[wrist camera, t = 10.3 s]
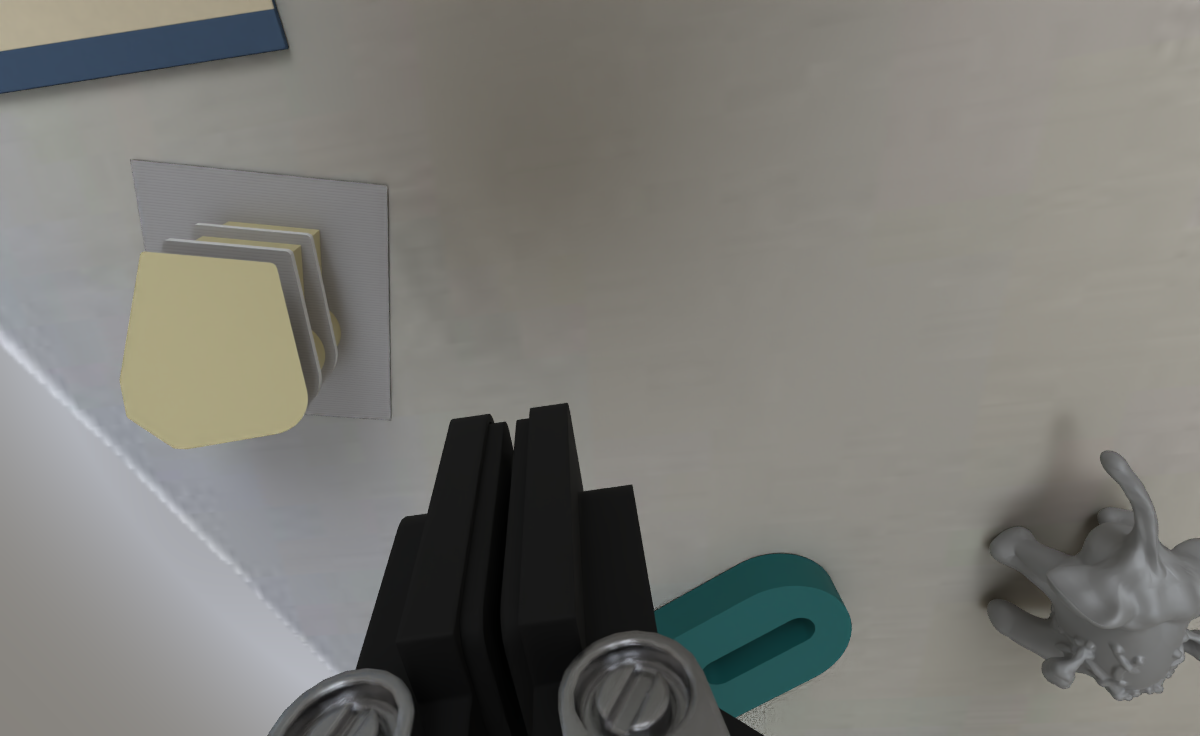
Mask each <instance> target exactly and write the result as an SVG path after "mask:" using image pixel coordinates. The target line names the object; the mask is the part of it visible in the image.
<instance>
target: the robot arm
mask: <svg viewBox="0 0 1200 736" xmlns="http://www.w3.org/2000/svg"><path fill="white" fill-rule="evenodd" d="M267 736H764V735H762V734H760V733H759V732H757V731H756V730H754V729H752V728H751V727H749V726H748V725H746V724H744V723H743V722H741V721H740V720H738V719H736V718H735V717H733V716H731V715H730V714H728V713H727V712H725V711H723V710H722V709H720V708H719V707H718V705H717V703H716V700H715V698H714V695H713V693H712V691H711V688H710V686H709V684H708V681H707V679H706V676H705V674H704V672H703V670H702V668H701V667H700V665H699V663H698V662H697V660H696V659H695V657H694V656H693V654H692V653H691V652H690V651H688V650H687V649H686V648H685V647H683V646H682V645H681V644H680V643H678V642H677V641H676V640H673V639H671V638H668V637H666V636H663V635H661V634H658V632H657V626H656V620H655V614H654V608H653V602H652V597H651V591H650V585H649V579H648V573H647V567H646V562H645V556H644V550H643V544H642V538H641V532H640V526H639V521H638V515H637V509H636V503H635V497H634V492H633V486H632V485H626V486H618V487H611V488H604V489H597V490H590V491H583V485H582V479H581V473H580V468H579V462H578V456H577V450H576V444H575V438H574V433H573V427H572V421H571V415H570V410H569V405H568V403H563V404H556V405H549V406H542V407H535V408H530V414H529V418H528V419H521V420H517V422H516V432H515V443H514V450H513V446H512V441H511V437H510V432H509V428H508V425H507V423H506V422H499V423H494V421H493V418H492V416H491V415H490V414H485V415H478V416H471V417H464V418H457V419H452V420H451V422H450V425H449V429H448V433H447V437H446V441H445V445H444V449H443V453H442V457H441V461H440V465H439V469H438V473H437V477H436V481H435V485H434V489H433V493H432V497H431V501H430V505H429V509H428V513H427V514H421V515H414V516H406V517H405V518H403V519H402V520H401V522H400V524H399V527H398V530H397V533H396V536H395V540H394V543H393V546H392V550H391V553H390V556H389V560H388V563H387V566H386V570H385V573H384V576H383V580H382V583H381V587H380V590H379V593H378V597H377V600H376V603H375V607H374V610H373V613H372V617H371V620H370V623H369V627H368V630H367V633H366V637H365V640H364V643H363V647H362V650H361V653H360V657H359V660H358V663H357V667H356V670H351V671H345V672H343V673H340V674H338V675H335V676H333V677H330V678H327V679H325V680H323V681H321V682H320V683H318V684H317V685H316V686H314V687H312V688H311V689H309V690H307V691H306V692H304V693H303V694H302V695H301V696H299V697H298V698H297V699H296V700H295V701H294V702H293V703H292V704H291V705H290V706H289V707H288V708H287V709H286V710H285V711H284V712H283V713H282V715H281V716H280V717H279V719H278V720H277V722H276V723H275V725H274V726H273V727H272V729H271V730H270V732H269V734H268V735H267Z"/></svg>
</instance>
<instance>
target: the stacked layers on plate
mask: <svg viewBox="0 0 1200 736" xmlns="http://www.w3.org/2000/svg"><path fill="white" fill-rule="evenodd" d="M130 161H131V167H132V173H133V179H134V185H135V191H136V197H137V204H138V210H139V216H140V222H141V228H142V234H143V240H144V246H145V252H142V253H141V254H140V259H139V265H138V271H137V277H136V283H135V289H134V296H133V302H132V308H131V314H130V320H129V326H128V332H127V338H126V344H125V351H124V357H123V363H122V369H121V375H120V385H121V390H122V395H123V400H124V405H125V410H126V415H127V417H128V418H129V419H130V420H132V421H133V422H135V423H136V424H138V425H139V426H141V427H142V428H144V429H145V430H147V431H148V432H150V433H151V434H153V435H154V436H156V437H157V438H159V439H160V440H162V441H163V442H165V443H166V444H168V445H169V446H171V447H172V448H175V449H191V448H197V447H203V446H209V445H215V444H221V443H226V442H232V441H238V440H244V439H250V438H256V437H262V436H268V435H274V434H279V433H282V432H285V431H287V430H289V429H291V428H292V427H294V426H295V425H296V424H297V423H298V422H299V421H300V420H301V419H302V417H303V415H318V416H333V417H348V418H363V419H378V420H391V408H390V342H389V275H388V209H387V185H377V184H367V183H358V182H348V181H338V180H328V179H318V178H308V177H298V176H288V175H278V174H269V173H259V172H249V171H239V170H229V169H219V168H209V167H199V166H190V165H180V164H170V163H160V162H150V161H140V160H130Z"/></svg>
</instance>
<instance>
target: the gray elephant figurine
mask: <svg viewBox="0 0 1200 736" xmlns="http://www.w3.org/2000/svg"><path fill="white" fill-rule="evenodd" d="M1100 461H1101V464H1102V466H1103V468H1104V469H1105V470H1106V472H1107V473H1108V474H1109V475H1110V476H1111V477H1112V478H1113V479H1114V480H1115V481H1116V482H1117V483H1118V484H1119V485H1120V486H1121V488H1122V489H1123V491H1124V493H1125V495H1126V496H1127V498H1128V499H1129V501H1130V503H1131V506H1132V509H1133V511H1131V510H1125V509H1120V508H1115V507H1107V508H1104V509H1102V510H1101V511H1100V512H1099V513H1098V516H1097V519H1098V522H1099V524H1100V525H1099V526H1097V527H1095V528H1094V529H1093V530H1091V531H1090V533H1089V534H1088V535H1087V537H1086V539H1085V542H1084V545H1083V548H1082V550H1081V551H1080V552H1079V553H1078V554H1076V555H1075V556H1072V555H1068V554H1066V553H1063V552H1061V551H1058V550H1056V549H1053V548H1051V547H1048V546H1045V545H1043V544H1041V543H1039V542H1038V541H1037V540H1036V539H1035V537H1034V536H1033V534H1032V532H1031V531H1030V530H1028V529H1027V528H1025V527H1019V526H1017V527H1012V528H1009V529H1006V530H1004V531H1003V532H1001V533H1000V534H999V535H998V536H997V537H996V538H995V539H994V540H993V541H992V542H991V544H990V553H991V555H992V556H993V558H994V559H996V560H997V561H998V562H1000V563H1003V564H1005V565H1007V566H1010V567H1012V568H1014V569H1016V570H1018V571H1019V572H1021V573H1022V574H1023V575H1025V576H1026V577H1027V578H1028V579H1029V580H1030V581H1031V582H1032V583H1034V584H1035V585H1036V586H1037V587H1038V588H1040V589H1041V590H1042V591H1043V592H1044V593H1045V594H1046V595H1047V596H1048V597H1049V599H1050V600H1051V602H1052V605H1051V611H1052V612H1051V613H1050V617H1049V618H1048V619H1043V618H1039V617H1036V616H1034V615H1032V614H1030V613H1028V612H1026V611H1024V610H1022V609H1021V608H1019V607H1017V606H1016V605H1014V604H1012V603H1011V602H1008V601H1005V600H1002V599H994V600H992V601H990V603H989V604H988V607H987V613H988V616H989V619H990V621H991V623H992V624H993V626H994V627H995V628H996V630H998V631H999V632H1000V633H1001V634H1003V635H1005V636H1007V637H1009V638H1010V639H1011V640H1013V641H1014V642H1016V643H1017V644H1019V645H1021V646H1023V647H1024V648H1026V649H1028V650H1030V651H1032V652H1034V653H1036V654H1038V655H1039V656H1041V657H1042V658H1044V659H1045V661H1044V662H1043V663H1042V673H1043V675H1044V677H1045V678H1046V679H1047V680H1048V681H1049V682H1050V683H1052V684H1055V685H1056V686H1058V687H1059V688H1062V689H1066V688H1069V687H1070V685H1071V684H1072V683H1073V681H1074V679H1075V672H1078V673H1083V674H1087V675H1089V676H1091V677H1093V678H1094V679H1095V680H1096V681H1097V683H1098V684H1099V685H1100V686H1102V687H1105V688H1106V690H1107V691H1108V692H1109V693H1110V694H1111V695H1112V697H1113V698H1114V699H1116V700H1118V701H1122V700H1127V701H1131V700H1132V699H1133V697H1138V696H1139V695H1141V694H1142V693H1148V694H1153V693H1162V692H1163V690H1164V688H1163V686H1162V685H1163V682H1164V680H1165V679H1166V678H1170V677H1171V676H1172V674H1173V673H1174V671H1175V670H1174V669H1176V668H1177V666H1178V664H1180V663H1182V662H1184V660H1185V655H1184V654H1185V652H1187V653H1189V654H1190V655H1192V656H1194V657H1195V658H1196V659H1197V660H1199V661H1200V630H1188V629H1187V627H1188V624H1189V622H1190V621H1191V620H1193V619H1195V618H1197V617H1199V616H1200V538H1193V539H1189V540H1186V541H1184V542H1182V543H1180V544H1178V545H1177V546H1175V547H1174V548H1173V549H1172V550H1170V549H1168V548H1167V547H1166V546H1164V545H1163V544H1162V543H1161V542H1160V541H1159V539H1158V520H1157V515H1156V512H1155V509H1154V506H1153V503H1152V501H1151V499H1150V496H1149V494H1148V493H1147V491H1146V489H1145V487H1144V485H1143V483H1142V482H1141V481H1140V479H1139V478H1138V477H1137V475H1136V474H1135V473H1134V472H1133V470H1132V469H1131V468H1130V466H1129V465H1128V463H1127V461H1126V460H1125V459H1124V458H1123V457H1122V456H1121V455H1119V454H1118V453H1116V452H1114V451H1104V452H1102V453H1101V455H1100Z"/></svg>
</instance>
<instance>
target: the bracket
mask: <svg viewBox="0 0 1200 736" xmlns="http://www.w3.org/2000/svg"><path fill="white" fill-rule="evenodd" d="M654 614H655V620H656V626H657V632H658V634H661V635H663V636H666V637H668V638H671V639H673V640H676V641H677V642H678V643H680V644H681V645H682V646H683V647H685V648H686V649H687V650H688V651H690V652H691V653H692V654H693V656H694V657H695V659H696V660H697V662H698V663H699V665H700V667H701V668H702V670H703V672H704V674H705V676H706V679H707V681H708V684H709V686H710V688H711V691H712V693H713V695H714V698H715V700H716V703H717V705H718V707H719V708H720V709H722V710H723V711H725V712H727V713H728V714H730V715H731V716H733V717H735V718H736V717H738V716H740V715H742V714H744V713H746V712H747V711H749V710H751V709H753V708H755V707H757V706H759V705H761V704H763V703H765V702H767V701H769V700H771V699H773V698H775V697H777V696H779V695H781V694H783V693H785V692H787V691H789V690H791V689H793V688H795V687H797V686H799V685H801V684H803V683H805V682H807V681H809V680H810V679H812V678H814V677H816V676H818V675H820V674H821V673H823V672H824V671H826V670H827V669H828V668H830V667H831V666H832V665H833V664H834V663H835V662H836V661H837V660H838V659H839V658H840V657H841V655H842V654H843V653H844V651H845V649H846V647H847V645H848V643H849V641H850V637H851V631H852V624H851V619H850V616H849V613H848V611H847V609H846V607H845V605H844V603H843V602H842V600H841V598H840V596H839V594H838V592H837V590H836V588H835V586H834V584H833V582H832V580H831V578H830V576H829V575H828V573H827V572H826V571H825V570H824V569H823V568H822V567H821V566H820V565H818V564H817V563H815V562H814V561H812V560H810V559H807V558H805V557H802V556H798V555H793V554H768V555H763V556H758V557H755V558H752V559H749V560H747V561H744V562H742V563H740V564H738V565H737V566H735V567H733V568H731V569H729V570H728V571H726V572H724V573H722V574H720V575H719V576H717V577H715V578H713V579H711V580H710V581H708V582H706V583H704V584H702V585H701V586H699V587H697V588H695V589H694V590H692V591H690V592H688V593H686V594H685V595H683V596H681V597H679V598H677V599H676V600H674V601H672V602H670V603H668V604H667V605H665V606H663V607H661V608H659V609H658V610H656V611H654Z"/></svg>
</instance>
